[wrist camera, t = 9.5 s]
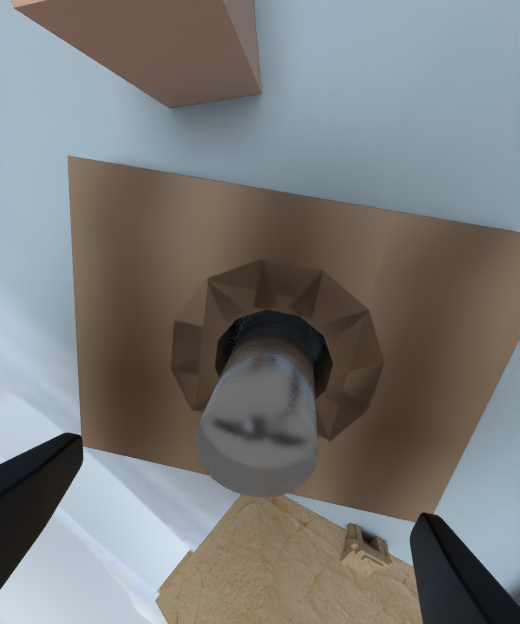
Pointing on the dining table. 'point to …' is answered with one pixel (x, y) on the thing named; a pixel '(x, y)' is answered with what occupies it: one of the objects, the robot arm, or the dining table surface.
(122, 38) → the square bar
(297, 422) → the round dowel
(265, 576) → the model pyramid
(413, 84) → the dining table surface
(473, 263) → the bore block
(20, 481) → the robot arm
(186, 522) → the dining table surface
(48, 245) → the dining table surface
